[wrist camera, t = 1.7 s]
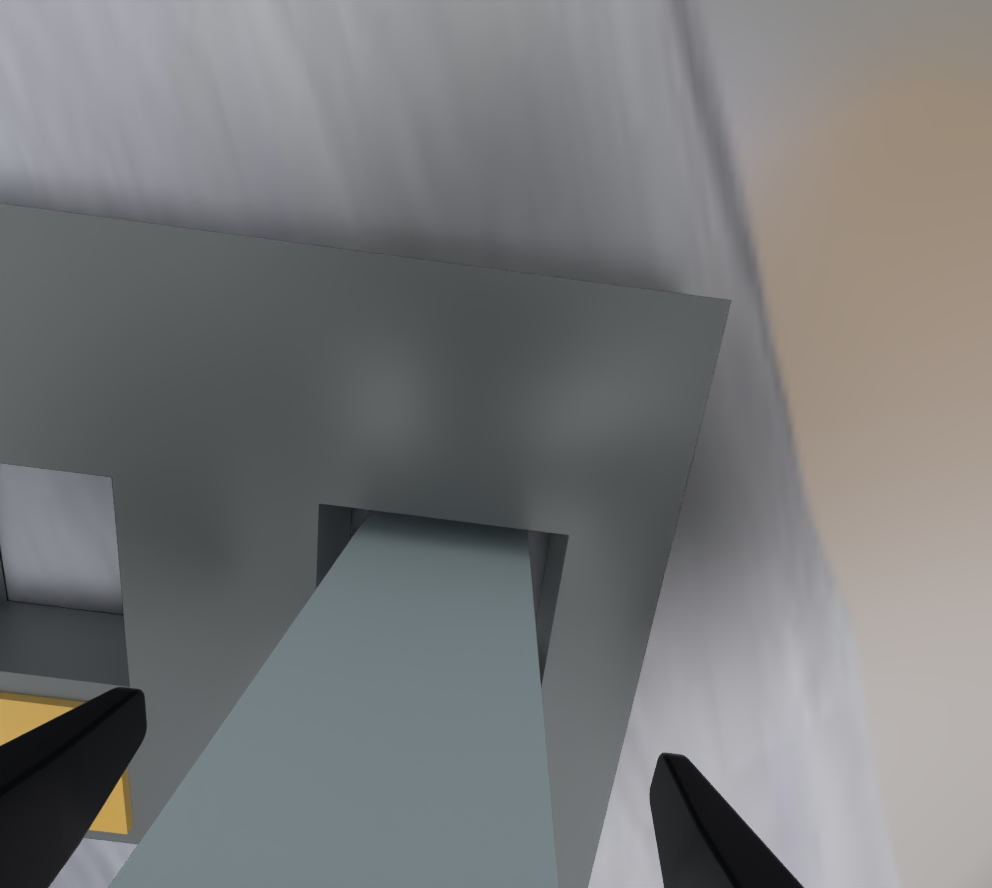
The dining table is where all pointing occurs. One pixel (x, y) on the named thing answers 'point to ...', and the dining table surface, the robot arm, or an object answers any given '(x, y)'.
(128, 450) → the socket panel
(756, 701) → the dining table surface
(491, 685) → the plug
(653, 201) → the dining table surface
